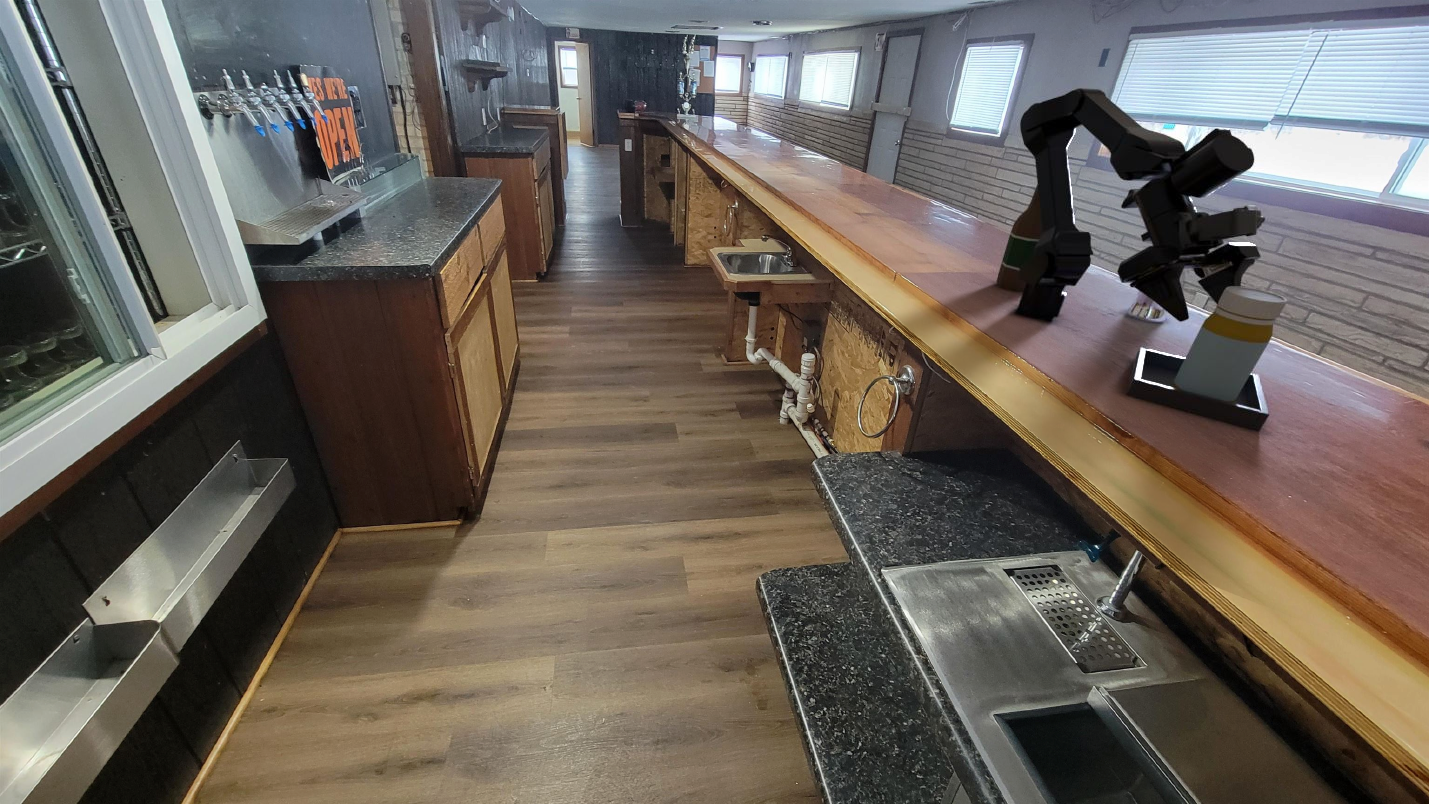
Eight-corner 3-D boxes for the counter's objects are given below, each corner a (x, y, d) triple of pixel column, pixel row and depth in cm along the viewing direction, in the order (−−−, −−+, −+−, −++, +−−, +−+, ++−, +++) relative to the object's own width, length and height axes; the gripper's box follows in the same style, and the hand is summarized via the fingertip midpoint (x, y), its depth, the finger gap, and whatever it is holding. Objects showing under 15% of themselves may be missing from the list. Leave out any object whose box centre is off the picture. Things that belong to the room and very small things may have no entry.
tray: (1126, 395, 79) (1133, 379, 78) (1133, 361, 90) (1140, 347, 89) (1259, 431, 72) (1269, 414, 71) (1250, 390, 82) (1259, 375, 81)
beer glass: (1153, 311, 111) (1188, 234, 104) (1175, 324, 105) (1213, 244, 98) (1117, 309, 112) (1149, 232, 104) (1136, 321, 106) (1171, 241, 98)
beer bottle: (1036, 285, 123) (1075, 168, 111) (1032, 295, 117) (1073, 172, 105) (998, 278, 127) (1032, 164, 115) (992, 287, 121) (1028, 167, 109)
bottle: (1219, 390, 81) (1275, 289, 73) (1240, 413, 75) (1304, 307, 68) (1163, 381, 83) (1212, 282, 75) (1180, 403, 77) (1235, 298, 69)
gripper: (1175, 182, 71) (1222, 295, 67) (1281, 182, 75) (1330, 288, 71) (1099, 231, 81) (1136, 331, 77) (1196, 228, 86) (1235, 323, 82)
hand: (1210, 318), depth 77 cm, fingers open, 9 cm apart
